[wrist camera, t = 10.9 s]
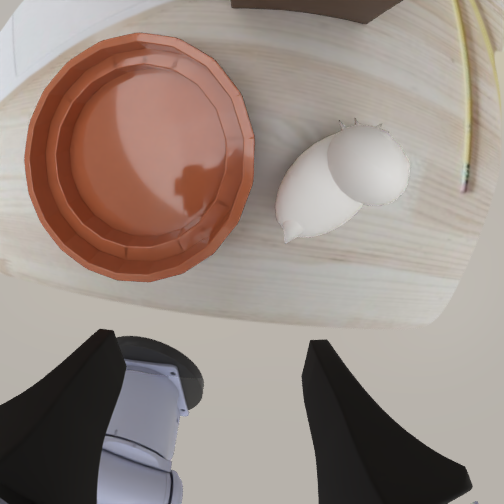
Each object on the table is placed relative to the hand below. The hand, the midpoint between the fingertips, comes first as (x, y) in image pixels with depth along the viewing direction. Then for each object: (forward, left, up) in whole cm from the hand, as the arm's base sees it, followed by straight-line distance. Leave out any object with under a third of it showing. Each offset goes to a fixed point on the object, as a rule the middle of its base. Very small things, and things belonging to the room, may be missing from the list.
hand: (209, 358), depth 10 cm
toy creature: (+5, -6, -10) cm, 12 cm away
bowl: (+6, +5, -9) cm, 12 cm away
